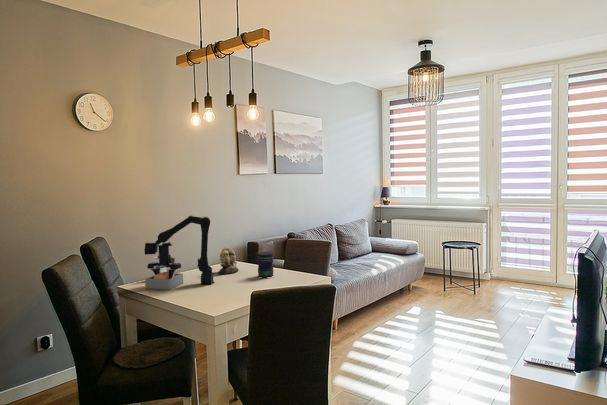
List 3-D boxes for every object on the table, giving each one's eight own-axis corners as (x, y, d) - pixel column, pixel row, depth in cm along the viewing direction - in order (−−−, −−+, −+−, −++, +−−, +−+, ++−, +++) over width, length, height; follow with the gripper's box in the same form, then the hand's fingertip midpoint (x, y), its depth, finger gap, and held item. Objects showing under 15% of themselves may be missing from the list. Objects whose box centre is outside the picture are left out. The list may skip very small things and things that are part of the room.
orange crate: (174, 280, 243) (174, 272, 242) (165, 284, 233) (165, 275, 233) (164, 280, 244) (163, 271, 244) (154, 284, 234) (154, 275, 234)
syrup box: (160, 280, 253) (159, 257, 252) (154, 279, 256) (153, 256, 255) (168, 278, 258) (167, 256, 257) (161, 277, 261) (161, 255, 260)
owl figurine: (230, 275, 265) (230, 249, 264) (214, 274, 268) (213, 248, 267) (241, 269, 282) (241, 245, 281) (226, 269, 285) (225, 244, 284)
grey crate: (183, 283, 245) (182, 273, 245) (168, 290, 229) (168, 279, 229) (161, 282, 248) (161, 272, 248) (145, 289, 232) (145, 278, 232)
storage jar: (276, 276, 259) (276, 253, 258) (262, 279, 253) (262, 255, 252) (268, 274, 267) (268, 251, 266) (255, 276, 261) (254, 253, 261)
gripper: (185, 251, 244) (186, 277, 244) (157, 251, 248) (158, 276, 248) (175, 255, 233) (176, 282, 233) (146, 254, 237) (147, 281, 237)
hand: (164, 280), depth 238 cm, fingers closed on orange crate, 7 cm apart
